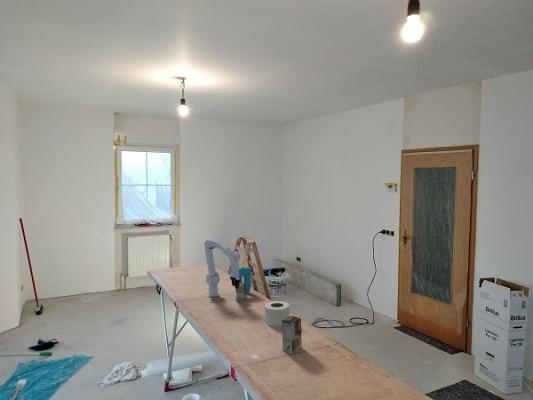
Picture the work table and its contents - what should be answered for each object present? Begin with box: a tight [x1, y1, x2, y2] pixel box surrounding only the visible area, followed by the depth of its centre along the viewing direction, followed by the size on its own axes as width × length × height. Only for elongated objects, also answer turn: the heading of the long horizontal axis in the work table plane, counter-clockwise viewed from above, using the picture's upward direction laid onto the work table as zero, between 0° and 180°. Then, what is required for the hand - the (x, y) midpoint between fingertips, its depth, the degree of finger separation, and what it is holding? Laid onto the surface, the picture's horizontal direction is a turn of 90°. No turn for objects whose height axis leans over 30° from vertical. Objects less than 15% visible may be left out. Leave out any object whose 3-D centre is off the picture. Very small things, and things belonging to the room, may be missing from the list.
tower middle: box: [235, 291, 246, 298], centre depth 286 cm, size 6×6×4 cm
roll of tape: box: [264, 300, 291, 327], centre depth 243 cm, size 16×15×11 cm
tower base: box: [235, 296, 246, 303], centre depth 286 cm, size 6×6×4 cm
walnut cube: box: [235, 284, 245, 293], centre depth 286 cm, size 5×5×5 cm
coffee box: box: [281, 315, 303, 354], centre depth 203 cm, size 9×6×16 cm
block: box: [239, 266, 252, 295], centre depth 304 cm, size 12×5×20 cm, turn 114°
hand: (235, 287), depth 285 cm, fingers open, 7 cm apart
